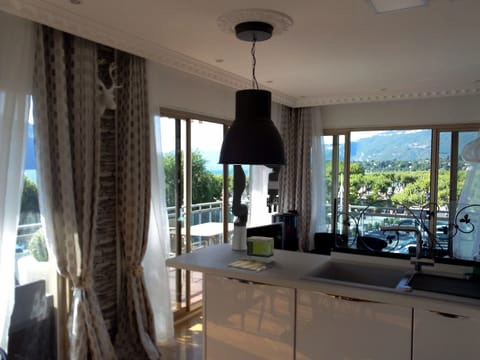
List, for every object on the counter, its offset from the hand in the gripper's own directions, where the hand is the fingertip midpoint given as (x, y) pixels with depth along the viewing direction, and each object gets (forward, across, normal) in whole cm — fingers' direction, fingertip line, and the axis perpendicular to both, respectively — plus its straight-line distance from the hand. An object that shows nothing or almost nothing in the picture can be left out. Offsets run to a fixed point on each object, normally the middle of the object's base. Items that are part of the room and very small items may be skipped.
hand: (272, 212), depth 270 cm
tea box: (+30, +16, 0) cm, 34 cm away
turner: (+30, +33, +12) cm, 46 cm away
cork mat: (+30, +32, 0) cm, 44 cm away
